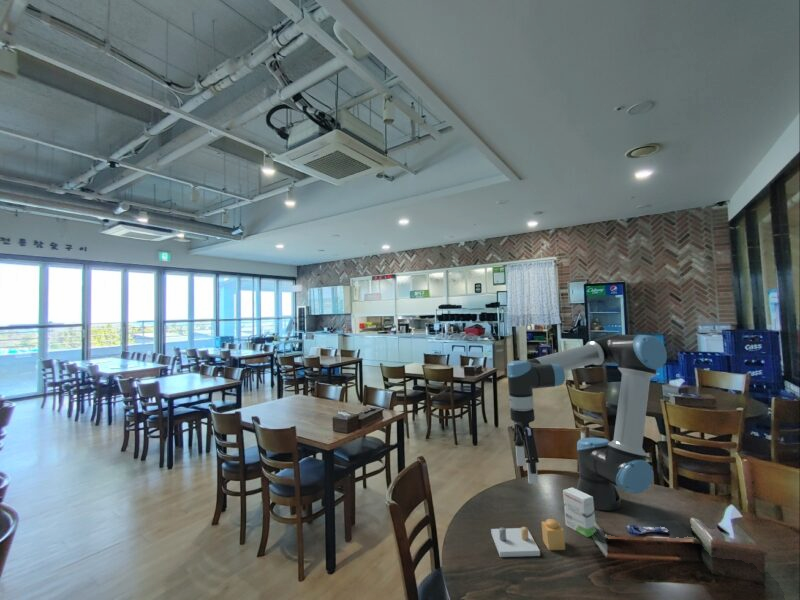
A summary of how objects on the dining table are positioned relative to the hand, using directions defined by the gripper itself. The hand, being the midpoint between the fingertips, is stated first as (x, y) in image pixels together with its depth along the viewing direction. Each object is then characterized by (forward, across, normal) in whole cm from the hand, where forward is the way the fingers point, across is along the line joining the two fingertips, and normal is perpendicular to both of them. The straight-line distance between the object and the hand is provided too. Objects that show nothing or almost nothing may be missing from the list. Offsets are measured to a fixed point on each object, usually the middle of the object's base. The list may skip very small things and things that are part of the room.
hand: (527, 473), depth 117 cm
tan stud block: (+20, +3, +6) cm, 22 cm away
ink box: (+21, -5, +18) cm, 28 cm away
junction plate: (+20, +3, -6) cm, 22 cm away
